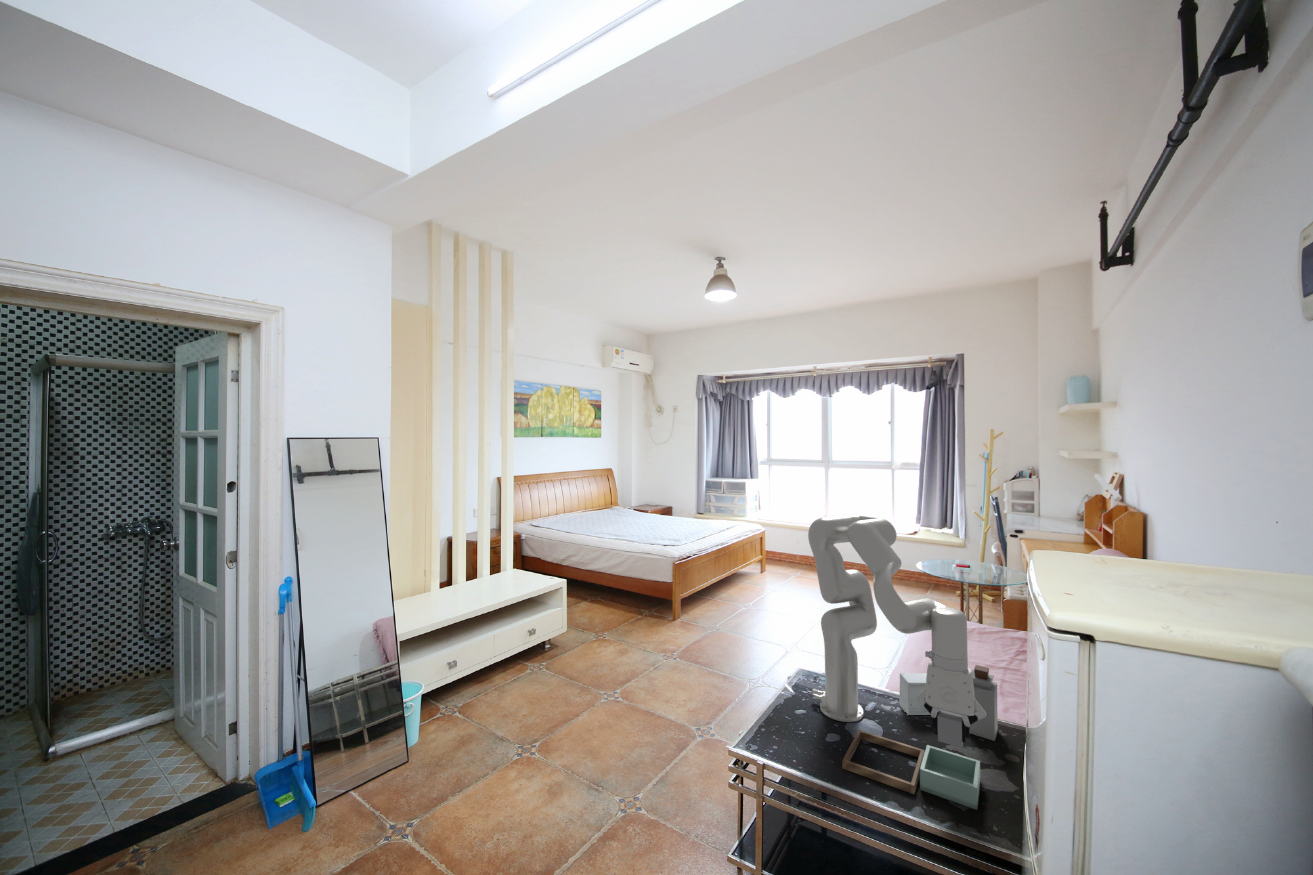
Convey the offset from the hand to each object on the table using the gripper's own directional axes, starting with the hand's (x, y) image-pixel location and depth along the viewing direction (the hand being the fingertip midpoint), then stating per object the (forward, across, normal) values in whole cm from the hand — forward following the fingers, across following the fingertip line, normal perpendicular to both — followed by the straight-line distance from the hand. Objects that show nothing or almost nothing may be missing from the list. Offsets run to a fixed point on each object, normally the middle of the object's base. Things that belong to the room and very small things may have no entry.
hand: (950, 735), depth 123 cm
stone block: (+1, 0, 0) cm, 1 cm away
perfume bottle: (+12, +5, +31) cm, 34 cm away
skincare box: (+12, -11, +33) cm, 37 cm away
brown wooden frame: (+12, -15, 0) cm, 20 cm away
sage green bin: (+12, 0, 0) cm, 12 cm away
